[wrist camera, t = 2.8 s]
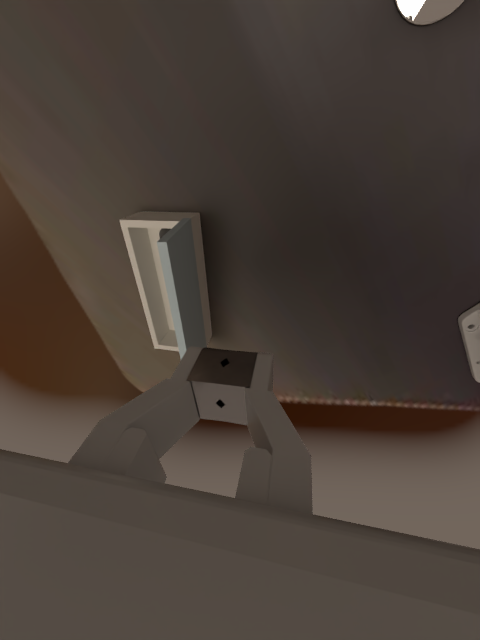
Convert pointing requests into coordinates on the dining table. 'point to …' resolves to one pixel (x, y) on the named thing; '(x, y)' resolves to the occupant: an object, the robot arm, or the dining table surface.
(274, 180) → the dining table surface
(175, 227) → the panel
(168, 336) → the white open box
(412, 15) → the wineglass
